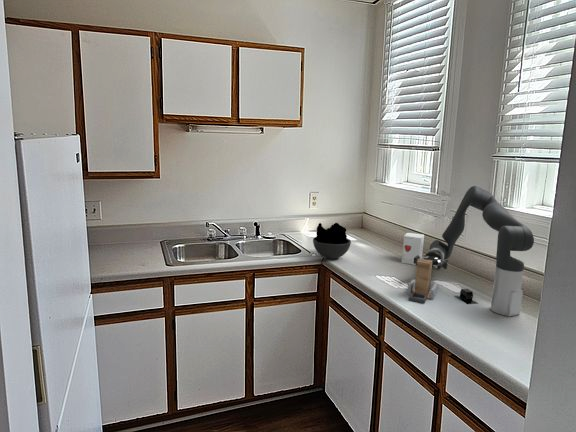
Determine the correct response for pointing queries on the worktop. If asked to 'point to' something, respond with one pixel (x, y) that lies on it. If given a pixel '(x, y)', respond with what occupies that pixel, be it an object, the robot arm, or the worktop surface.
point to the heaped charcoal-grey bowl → (331, 241)
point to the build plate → (466, 296)
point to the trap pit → (418, 298)
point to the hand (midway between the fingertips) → (427, 266)
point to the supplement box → (412, 247)
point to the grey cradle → (430, 295)
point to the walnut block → (423, 276)
